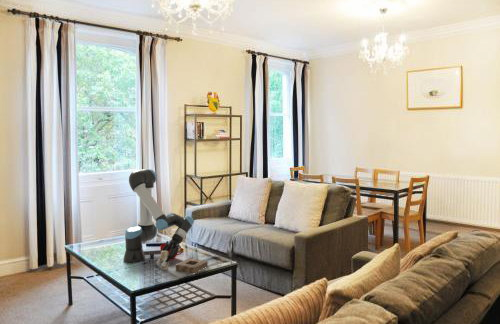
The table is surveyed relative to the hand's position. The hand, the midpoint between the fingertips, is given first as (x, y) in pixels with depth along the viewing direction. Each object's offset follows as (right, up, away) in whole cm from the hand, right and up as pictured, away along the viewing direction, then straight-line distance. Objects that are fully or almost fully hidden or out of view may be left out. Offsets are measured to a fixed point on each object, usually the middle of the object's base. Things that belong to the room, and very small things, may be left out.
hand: (160, 265), depth 284 cm
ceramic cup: (+4, -2, +24) cm, 24 cm away
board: (+21, -3, +4) cm, 21 cm away
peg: (+2, -4, +3) cm, 5 cm away
